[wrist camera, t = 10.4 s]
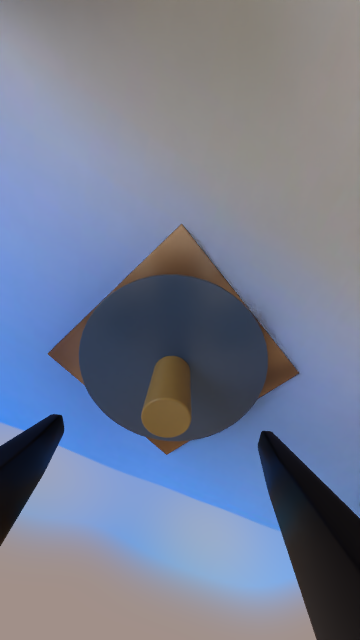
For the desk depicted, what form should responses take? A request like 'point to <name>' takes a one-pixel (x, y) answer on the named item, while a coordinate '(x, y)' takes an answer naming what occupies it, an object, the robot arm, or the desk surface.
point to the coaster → (181, 259)
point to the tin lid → (173, 357)
